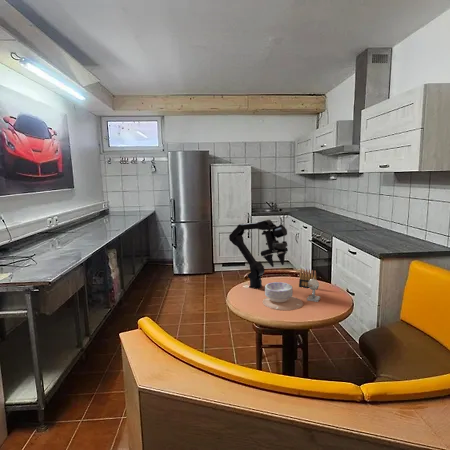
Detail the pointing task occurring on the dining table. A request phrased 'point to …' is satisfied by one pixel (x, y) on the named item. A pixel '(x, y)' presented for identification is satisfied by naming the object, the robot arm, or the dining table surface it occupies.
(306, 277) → the ammunition clip
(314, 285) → the dial gauge stand
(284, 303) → the centring plate
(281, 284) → the white floral bowl
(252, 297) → the dining table surface
